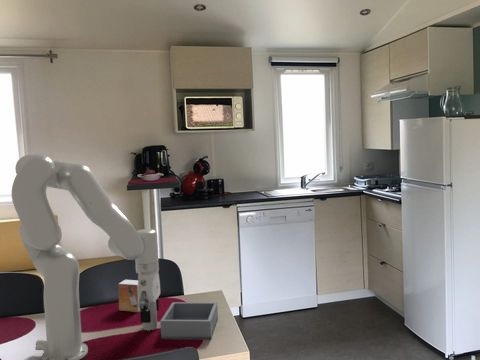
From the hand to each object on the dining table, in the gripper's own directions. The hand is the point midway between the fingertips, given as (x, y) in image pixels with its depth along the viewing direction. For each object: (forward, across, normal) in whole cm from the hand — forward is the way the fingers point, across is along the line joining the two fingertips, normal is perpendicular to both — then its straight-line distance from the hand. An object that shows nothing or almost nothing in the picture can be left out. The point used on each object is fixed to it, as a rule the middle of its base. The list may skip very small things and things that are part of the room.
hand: (150, 316), depth 143 cm
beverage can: (+4, 0, 0) cm, 4 cm away
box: (+4, 0, -14) cm, 14 cm away
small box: (+4, +17, +12) cm, 21 cm away
